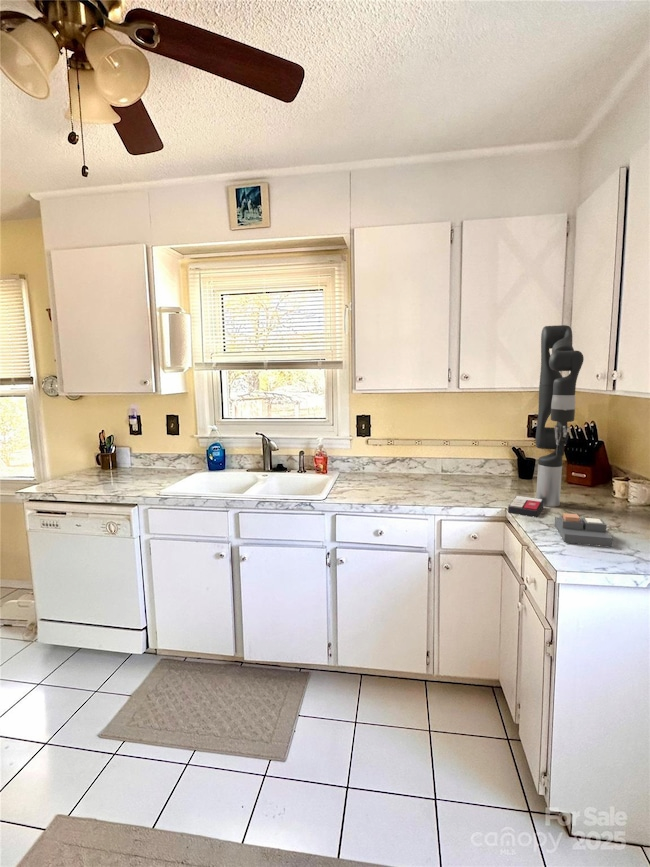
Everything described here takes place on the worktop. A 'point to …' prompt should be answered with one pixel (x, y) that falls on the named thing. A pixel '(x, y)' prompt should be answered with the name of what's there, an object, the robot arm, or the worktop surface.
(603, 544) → the push button base
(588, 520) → the cream key
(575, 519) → the peach key
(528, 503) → the calculator
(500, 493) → the worktop surface
